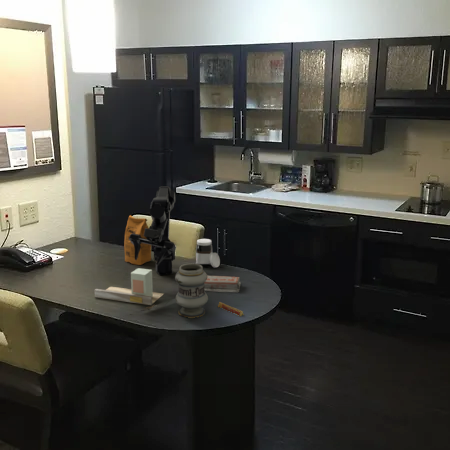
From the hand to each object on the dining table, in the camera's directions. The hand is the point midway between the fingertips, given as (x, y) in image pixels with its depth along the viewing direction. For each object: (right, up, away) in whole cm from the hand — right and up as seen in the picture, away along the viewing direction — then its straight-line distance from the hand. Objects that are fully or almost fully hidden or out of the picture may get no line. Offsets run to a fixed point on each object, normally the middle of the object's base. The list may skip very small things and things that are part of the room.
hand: (146, 262), depth 211 cm
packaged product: (+29, -12, +10) cm, 33 cm away
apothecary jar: (+19, -18, -15) cm, 30 cm away
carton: (-1, -13, -6) cm, 15 cm away
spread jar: (+24, -4, +38) cm, 45 cm away
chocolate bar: (+34, -18, -13) cm, 40 cm away
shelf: (-6, -14, -3) cm, 16 cm away
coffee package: (-10, -3, +42) cm, 44 cm away
